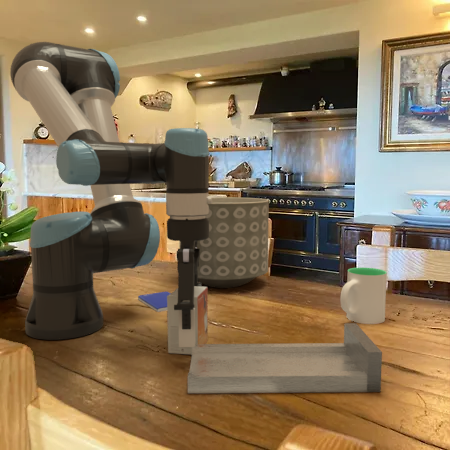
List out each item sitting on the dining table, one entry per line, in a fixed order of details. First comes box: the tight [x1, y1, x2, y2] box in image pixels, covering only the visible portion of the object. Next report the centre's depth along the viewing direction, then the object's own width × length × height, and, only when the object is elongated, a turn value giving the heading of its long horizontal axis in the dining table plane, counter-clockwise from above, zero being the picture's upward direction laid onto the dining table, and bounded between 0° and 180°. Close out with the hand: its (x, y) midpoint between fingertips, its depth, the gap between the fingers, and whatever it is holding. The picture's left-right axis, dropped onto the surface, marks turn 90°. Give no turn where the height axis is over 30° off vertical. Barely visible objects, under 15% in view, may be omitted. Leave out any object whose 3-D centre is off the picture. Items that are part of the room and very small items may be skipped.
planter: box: [179, 196, 270, 289], centre depth 135 cm, size 25×25×24 cm
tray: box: [187, 322, 383, 394], centre depth 75 cm, size 28×13×6 cm, turn 91°
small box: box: [166, 285, 209, 356], centre depth 87 cm, size 8×6×10 cm
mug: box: [339, 267, 387, 325], centre depth 102 cm, size 12×8×10 cm
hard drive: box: [137, 291, 172, 313], centre depth 116 cm, size 2×8×12 cm
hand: (189, 333), depth 87 cm, fingers open, 13 cm apart
